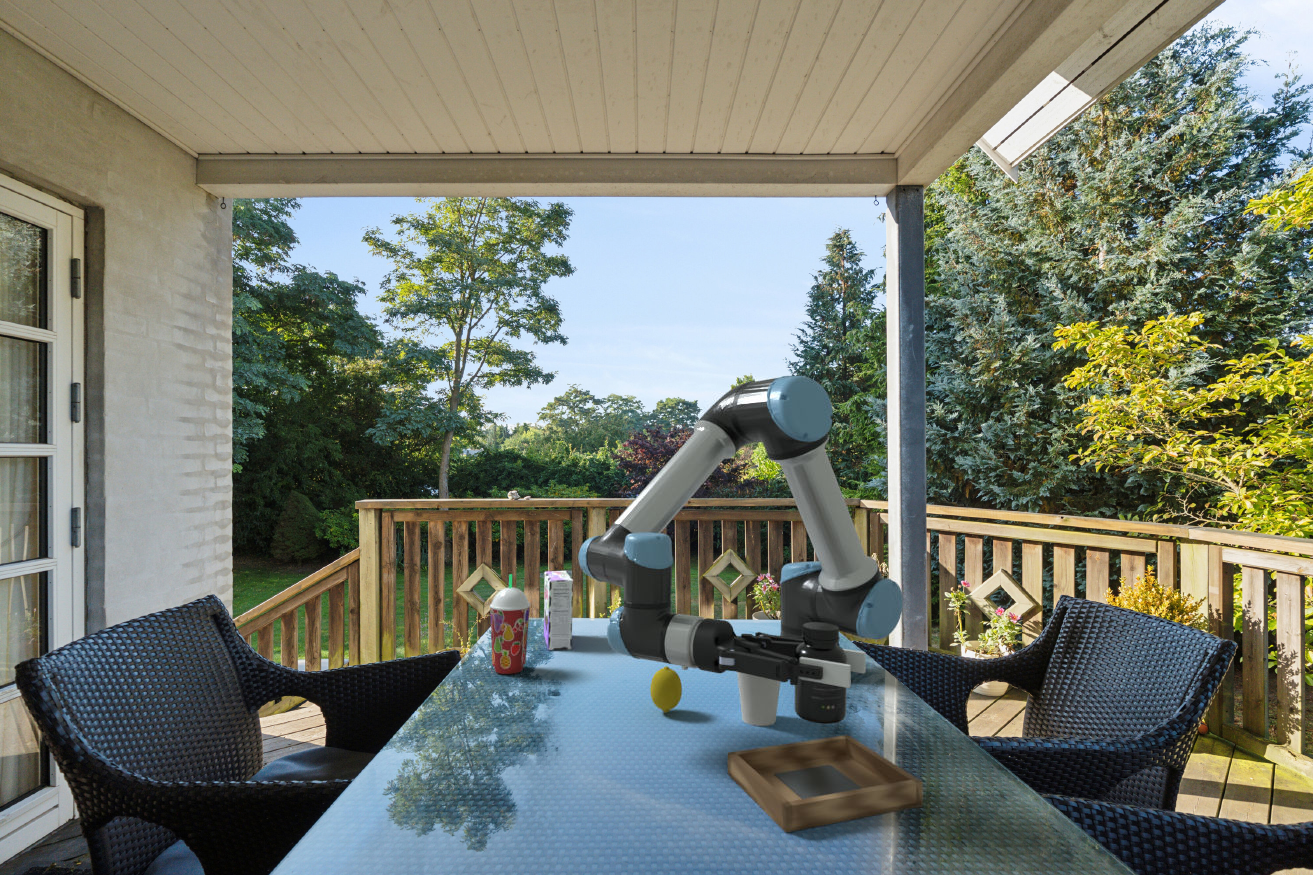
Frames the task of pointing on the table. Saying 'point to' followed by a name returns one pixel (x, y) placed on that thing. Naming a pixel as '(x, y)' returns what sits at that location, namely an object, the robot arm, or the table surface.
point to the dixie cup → (758, 699)
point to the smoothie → (509, 629)
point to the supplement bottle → (816, 697)
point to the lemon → (666, 689)
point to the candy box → (558, 610)
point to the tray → (823, 782)
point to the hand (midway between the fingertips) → (857, 669)
